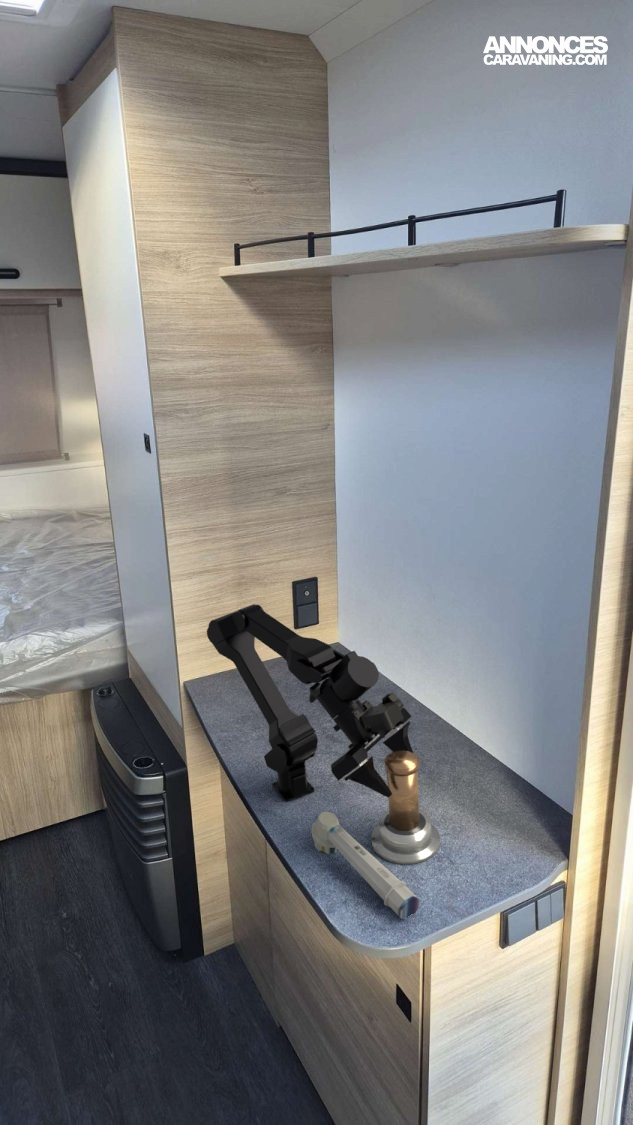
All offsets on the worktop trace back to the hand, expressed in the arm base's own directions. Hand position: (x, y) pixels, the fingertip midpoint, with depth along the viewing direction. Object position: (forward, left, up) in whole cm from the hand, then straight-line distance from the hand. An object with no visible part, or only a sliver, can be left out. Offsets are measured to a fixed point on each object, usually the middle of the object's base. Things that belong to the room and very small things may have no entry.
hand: (403, 781), depth 134 cm
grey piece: (+3, -11, -13) cm, 17 cm away
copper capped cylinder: (0, 0, -8) cm, 8 cm away
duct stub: (0, 0, -12) cm, 12 cm away
